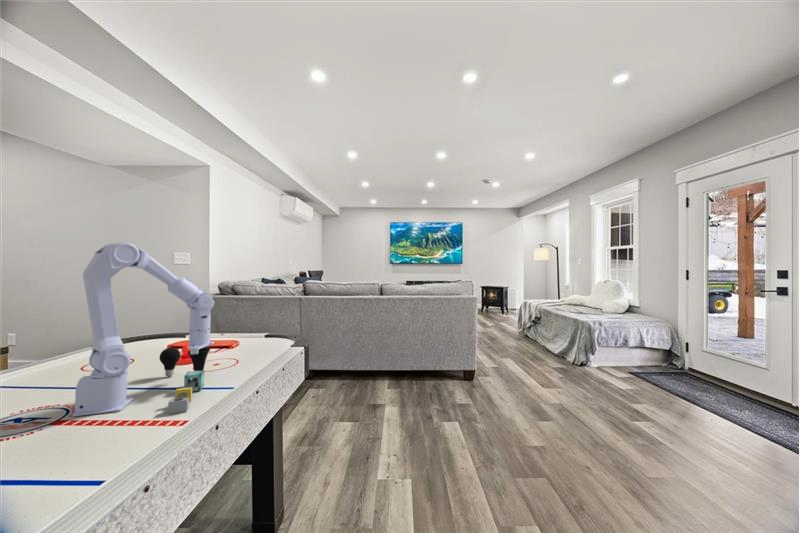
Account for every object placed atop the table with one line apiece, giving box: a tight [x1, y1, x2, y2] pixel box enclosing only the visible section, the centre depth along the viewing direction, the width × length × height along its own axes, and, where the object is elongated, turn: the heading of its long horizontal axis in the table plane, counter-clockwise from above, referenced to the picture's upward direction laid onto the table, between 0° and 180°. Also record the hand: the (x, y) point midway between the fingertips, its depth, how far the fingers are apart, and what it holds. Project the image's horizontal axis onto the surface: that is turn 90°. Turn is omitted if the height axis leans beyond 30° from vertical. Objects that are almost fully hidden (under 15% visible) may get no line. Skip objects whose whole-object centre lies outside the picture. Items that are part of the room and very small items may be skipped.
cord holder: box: [167, 378, 198, 415], centre depth 90 cm, size 21×4×4 cm, turn 21°
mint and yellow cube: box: [183, 369, 205, 392], centre depth 96 cm, size 4×4×5 cm
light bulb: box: [159, 347, 181, 378], centre depth 108 cm, size 6×6×10 cm
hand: (199, 371), depth 101 cm, fingers closed
